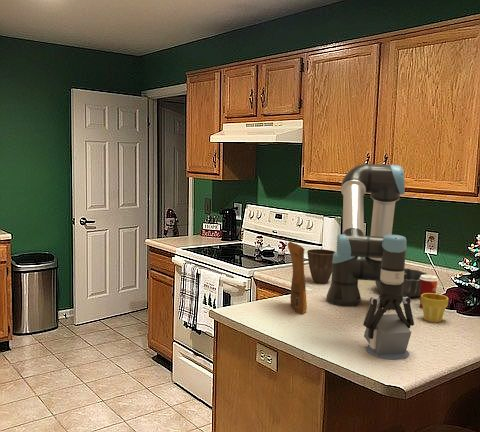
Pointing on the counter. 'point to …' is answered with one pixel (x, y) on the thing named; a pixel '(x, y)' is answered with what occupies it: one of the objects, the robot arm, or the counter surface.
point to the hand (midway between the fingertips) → (387, 346)
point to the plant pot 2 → (433, 306)
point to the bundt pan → (410, 282)
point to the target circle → (388, 356)
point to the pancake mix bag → (298, 279)
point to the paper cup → (427, 285)
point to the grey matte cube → (390, 335)
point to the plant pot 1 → (320, 264)
